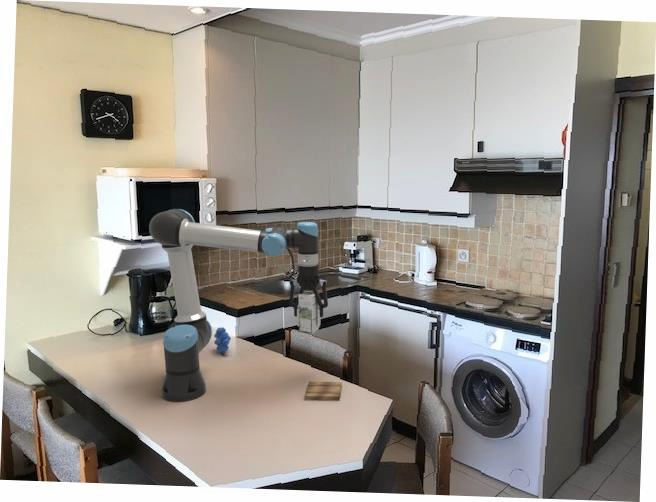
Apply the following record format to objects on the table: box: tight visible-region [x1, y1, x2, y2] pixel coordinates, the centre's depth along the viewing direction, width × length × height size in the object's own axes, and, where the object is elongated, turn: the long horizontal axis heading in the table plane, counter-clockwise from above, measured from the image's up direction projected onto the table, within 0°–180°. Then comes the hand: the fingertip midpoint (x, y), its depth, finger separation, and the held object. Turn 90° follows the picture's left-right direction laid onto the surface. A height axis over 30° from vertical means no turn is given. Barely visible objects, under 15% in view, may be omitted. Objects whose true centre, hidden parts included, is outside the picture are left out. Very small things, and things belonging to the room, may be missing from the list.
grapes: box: [213, 326, 231, 355], centre depth 225 cm, size 12×7×12 cm, turn 37°
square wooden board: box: [303, 381, 343, 402], centre depth 184 cm, size 12×12×2 cm
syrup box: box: [298, 290, 320, 334], centre depth 194 cm, size 6×6×14 cm
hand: (308, 325), depth 195 cm, fingers closed on syrup box, 7 cm apart
